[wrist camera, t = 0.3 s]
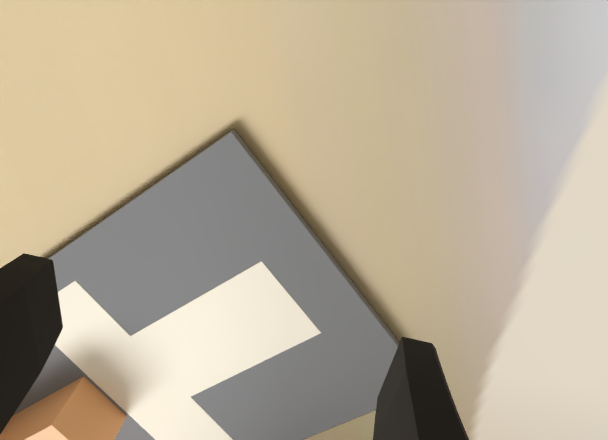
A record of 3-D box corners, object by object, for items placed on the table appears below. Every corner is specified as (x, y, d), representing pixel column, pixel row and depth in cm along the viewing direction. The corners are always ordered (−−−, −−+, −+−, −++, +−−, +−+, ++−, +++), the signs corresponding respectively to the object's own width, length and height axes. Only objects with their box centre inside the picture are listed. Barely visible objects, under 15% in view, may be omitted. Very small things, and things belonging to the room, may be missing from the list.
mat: (2, 558, 36) (-2, 565, 36) (-185, 419, 32) (-191, 425, 31) (429, 381, 25) (429, 387, 25) (233, 128, 21) (231, 132, 20)
